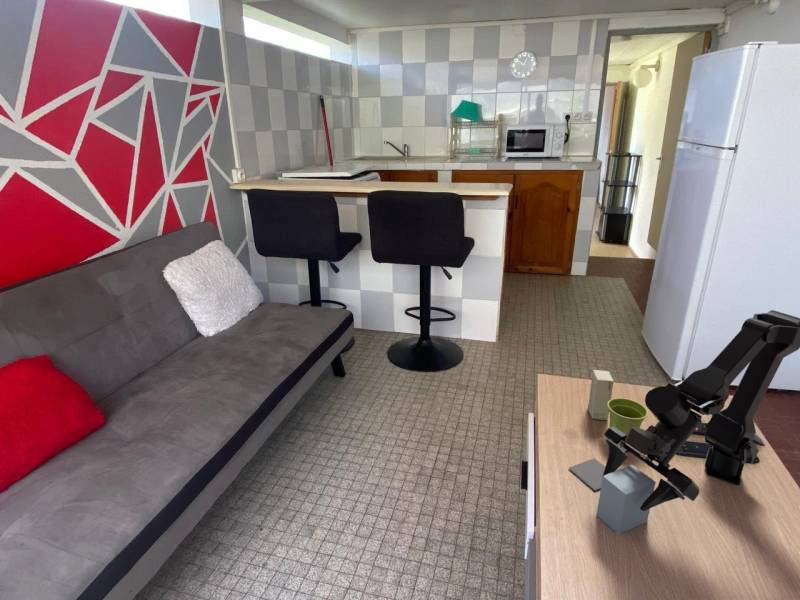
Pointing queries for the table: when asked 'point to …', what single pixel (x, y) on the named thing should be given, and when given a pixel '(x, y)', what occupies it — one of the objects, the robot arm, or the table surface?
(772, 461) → the table surface
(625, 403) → the plant pot
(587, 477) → the pad
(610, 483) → the grey rectangular block
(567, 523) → the table surface
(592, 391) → the skincare box
